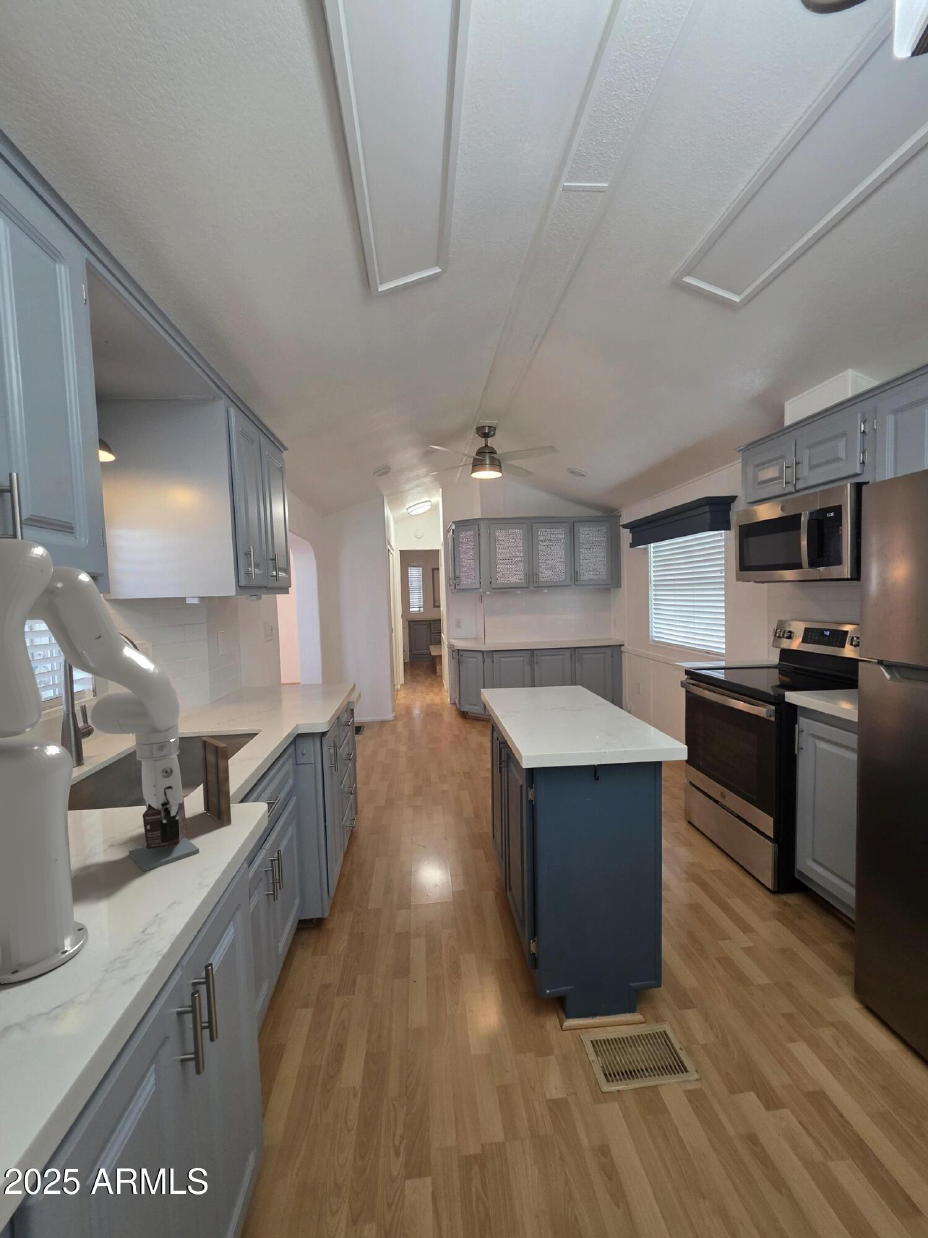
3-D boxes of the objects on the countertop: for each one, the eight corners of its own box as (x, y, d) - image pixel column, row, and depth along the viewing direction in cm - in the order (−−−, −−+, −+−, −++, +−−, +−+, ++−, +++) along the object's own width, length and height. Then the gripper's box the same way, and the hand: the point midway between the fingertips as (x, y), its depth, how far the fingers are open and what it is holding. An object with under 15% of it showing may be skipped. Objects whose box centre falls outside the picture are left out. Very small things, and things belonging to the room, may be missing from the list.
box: (145, 850, 107) (141, 815, 106) (156, 835, 113) (151, 801, 112) (179, 845, 108) (174, 810, 107) (188, 830, 114) (183, 797, 113)
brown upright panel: (175, 841, 115) (171, 757, 114) (157, 825, 123) (153, 747, 122) (231, 824, 123) (227, 745, 122) (211, 810, 132) (207, 736, 131)
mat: (143, 871, 103) (143, 867, 103) (128, 854, 110) (128, 850, 110) (199, 852, 110) (199, 849, 110) (182, 837, 117) (181, 834, 117)
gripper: (193, 752, 105) (198, 840, 106) (164, 736, 117) (169, 816, 118) (150, 761, 100) (155, 854, 101) (124, 744, 112) (129, 827, 113)
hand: (162, 833), depth 109 cm, fingers closed on box, 8 cm apart
